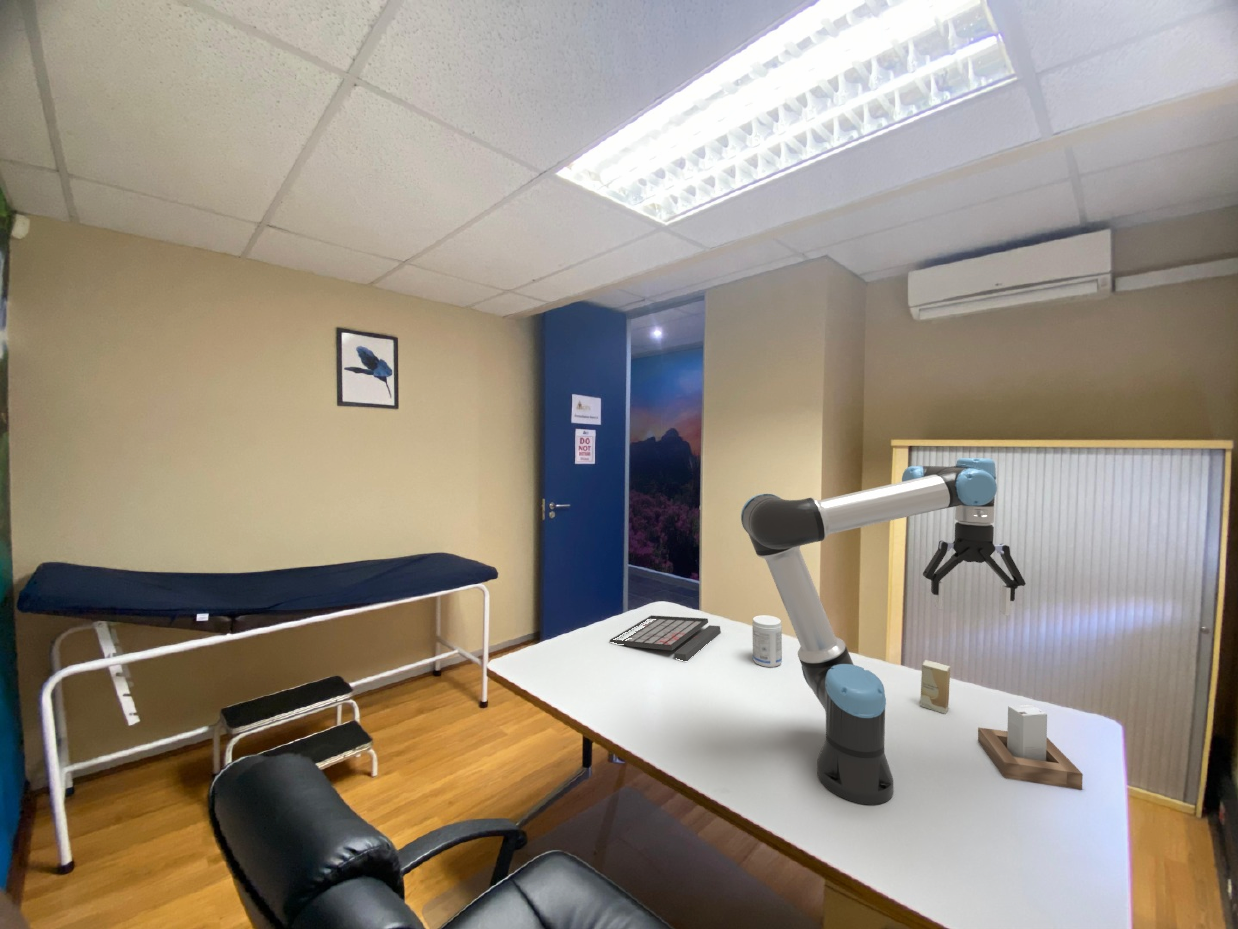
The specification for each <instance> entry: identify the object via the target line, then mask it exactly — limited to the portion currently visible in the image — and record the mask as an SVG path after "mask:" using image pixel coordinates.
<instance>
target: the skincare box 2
mask: <svg viewBox="0 0 1238 929" xmlns="http://www.w3.org/2000/svg"><path fill="white" fill-rule="evenodd" d="M1006 731H1007V749H1008V751H1009V752H1010V753H1011V754H1012V756H1013V757H1018V758H1025V759H1032V760H1039V761H1046V745H1047V738H1048V713H1047V712H1045V711H1043V710H1041V709H1040V708H1038V707H1036V706H1034V705H1032V704H1025V705H1024V704H1023V705H1022V704H1021V705H1008V707H1007V730H1006Z"/></svg>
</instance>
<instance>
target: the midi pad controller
mask: <svg viewBox="0 0 1238 929" xmlns="http://www.w3.org/2000/svg"><path fill="white" fill-rule="evenodd" d="M647 619H656V620H653V621H652V622H649V623H648V624H645V625H643V626H645V627H644V628H642V629H640V630H638V631H635V632H636V633H634V634H633V635H631V636H629V637H628V638H632V639H629V640H627V641H625V640H626V639H628V638H626V639H624V640H623V641H622V640H617V639H616V640H613V639H615V638H617V637H619V636H620V635H622V634H623V633H625V632H628V631H629V630H631V629H632V628H634V627H636V626H638V627H639V625H640V624H641V623H643V622H645V621H646V620H647ZM646 622H647V621H646ZM708 623H709V618H705V617H704V618H703V617H701V618H700V617H688V616H687V617H686V616H685V617H684V616H669V615H668V616H667V615H666V616H665V615H664V616H663V615H649V616H648V617H646V618H644V619H643V620H641V621H639V622H637V623H636V624H634V625H633V626H631V627H630V628H627V629H625V630H624V631H622V632H621V633H618V634H617V635H616V636H614V637H613V638H611V639H609V643H610V642H614V643H617V644H624V645H627V646H626V647H633V648H635V647H636V648H644V649H651V650H652V649H655V650H663V651H674V650H675V649H676V648H677V647H679V646H681V645H682V644H683V643H684V642H685V641H686V640H688V639H689V638H691V637H692V636H693V635H694V634H696V633H697V632H699V631H700V630H701V629H702V628H704V627H705V626H706V625H707V624H708ZM643 624H644V623H643ZM641 625H642V624H641ZM636 628H637V627H636ZM631 631H632V630H631ZM628 633H629V632H628ZM720 634H722V632H721V626H720V625H708V626H707V627H705V628H704V629H703V630H702V631H701V632H699V633H698V634H697V635H695V636H694V637H692V638H691V639H690V640H689V641H687V642H686V643H685V644H684V645H682V646H681V647H680V648H679V649H677V650H676V651H675V652H674V653H673V658H677V659H680V660H683V661H688V660H689V659H690V658H691V657H692V656H693V657H694V655H695V654H696V653H697V652H698V651H699V650H700V651H702V650H703V649H704V648H705V647H706V646H707V645H709V644H710V643H711V642H713V640H715V639H716V638H717V637H718V636H719V635H720ZM710 641H711V642H710ZM709 642H710V643H709ZM708 643H709V644H708ZM706 644H707V645H706ZM705 645H706V646H705ZM704 646H705V647H704ZM703 647H704V648H703ZM702 648H703V649H702ZM701 649H702V650H701ZM700 651H699V652H700ZM699 652H698V653H699ZM698 653H697V654H698ZM697 654H696V655H697ZM696 655H695V656H696ZM693 657H692V658H693ZM692 658H691V659H692ZM691 659H690V660H691ZM690 660H689V661H690ZM683 661H682V662H683ZM689 661H688V662H689Z"/></svg>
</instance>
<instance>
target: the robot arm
mask: <svg viewBox="0 0 1238 929" xmlns="http://www.w3.org/2000/svg"><path fill="white" fill-rule="evenodd" d="M996 473H997V471H996V463H995V460H993V459H992V458H986V457H985V458H983V457H982V458H981V457H980V458H978V457H977V458H976V457H974V458H972V457H971V458H970V457H969V458H968V457H965V458H964V457H963V458H962V457H960V458H958V459H957V461H956V463H955V465H953V466H942V465H940V466H939V465H938V466H937V465H935V466H934V465H914V466H913V465H911V466H908V467H907V468H905V469H904V471H903V472H902V476H901V481H899V482H896V483H895V482H894V483H891V484H886V485H885V484H884V485H881V486H877V487H873V488H869V489H868V488H867V489H864V490H860V491H855V492H851V493H846V494H842V495H838V496H832V497H828V498H823V499H820V500H818V499H815V498H814V497H806V498H802V499H792V500H791V499H783V498H781V497H779V496H778V495H777V494H773V493H761V494H760V493H759V494H756V495H754V496H751V497H750V498H749V499H748V500H747V501H746V502H745V503H744V505H743V506H742V509H741V513H740V519H741V520H740V521H741V522H740V523H741V525H742V527H743V529H744V531H745V532H746V533H747V534H748V536H749V539H750V541H751V542H750V543H752V546H753V548H754V551H755V554H756V555H757V557H759V558H762V559H764V560H765V561H766V564H767V567H768V569H769V572H770V574H771V576H772V579H773V581H774V584H775V587H776V589H777V591H778V594H779V596H780V598H781V601H782V603H783V606H784V609H785V611H786V614H787V616H788V618H789V621H790V623H791V626H792V628H793V630H794V633H795V636H796V639H797V640H798V642H799V645H800V647H799V649H798V650H797V658H798V659H799V662H800V665H801V672H802V675H803V678H804V680H805V682H806V684H807V686H809V688H810V689H811V690H812V693H814V695H815V696H816V698H817V700H818V702H819V703H820V704H821V706H822V707H823V709H824V712H825V740H824V742H823V744H822V748H821V750H820V752H819V755H818V758H817V762H816V775H817V777H818V779H819V781H820V783H821V784H822V785H823V786H824V787H826V789H827V790H828V791H830V792H831V793H833V794H834V795H837V796H838V797H841V798H842V799H845V800H847V801H849V802H853V803H857V804H861V805H880V804H884V803H887V802H888V801H889V800H890V799H891V798H892V797H893V795H894V778H893V774H892V771H891V769H890V765H889V761H888V760H887V756H886V754H885V734H886V732H885V730H886V705H887V698H886V692H885V687H884V684H883V682H882V680H881V679H880V678H879V677H878V676H877V674H875V673H873V672H872V671H871V670H868V669H865V668H864V667H862V666H858V665H855V664H854V662H853V660H852V657H851V655H850V652H849V650H848V647H847V645H846V643H845V641H844V640H842V639H841V638H840V637H836V635H835V633H834V630H833V628H832V626H831V623H830V621H829V618H828V615H827V613H826V611H825V608H824V606H823V603H822V601H821V599H820V596H819V593H818V591H817V589H816V586H815V583H814V581H813V579H812V577H811V574H810V571H809V569H808V567H807V563H806V561H805V558H804V555H803V554H802V552H801V549H800V548H801V546H804V545H805V546H806V545H808V544H809V545H810V544H813V543H817V542H818V543H819V542H822V541H825V540H826V539H827V537H828V535H831V534H837V533H840V532H845V531H849V530H854V529H858V528H863V527H868V526H871V525H877V524H881V523H886V522H891V521H895V520H900V519H904V518H908V517H912V516H917V515H921V514H926V513H930V512H935V511H940V510H943V509H950V508H954V507H955V509H954V510H955V512H954V513H955V514H954V520H955V521H956V522H955V523H954V540H953V542H947V541H945V540H940V541H938V546H937V550H936V551H935V553H934V554H933V556H932V558H931V560H930V561H929V562H928V564H927V566H926V568H925V569H924V571H923V572H922V576H923V577H925V579H926V580H930V581H931V582H930V583H931V584H930V587H931V588H930V591H931V593H932V595H934V596H935V597H934V598H935V602H934V605H935V606H934V607H936V608H937V610H939V611H943V605H944V604H943V603H944V602H943V601H944V596H943V595H944V583H943V582H942V580H943V579H944V577H946V576H947V575H948V574H949V573H950V572H951V571H952V570H954V569H955V568H956V567H957V566H958V565H959V564H961V563H962V562H963V561H964V562H966V563H974V562H975V563H978V564H979V563H980V564H983V563H986V564H987V565H988V566H989V567H990V569H991V570H992V571H993V572H994V573H995V574H996V575H997V576H998V577H999V579H1001V580H1002V581H1003V583H1004V584H1001V588H1000V589H1001V590H1000V591H1001V592H1000V593H1001V594H1000V613H1001V614H1003V615H1004V616H1006V617H1007V616H1008V617H1010V616H1011V613H1010V612H1011V602H1014V601H1015V598H1016V590H1017V589H1018V587H1024V586H1026V581H1025V579H1024V577H1023V576H1022V574H1021V572H1020V570H1019V569H1018V567H1017V565H1016V563H1015V561H1014V559H1013V557H1012V555H1011V548H1010V546H1009V545H1007V544H1004V543H999V544H994V537H995V536H994V532H995V531H994V530H995V526H993V525H992V524H993V523H994V522H995V502H996V501H995V497H996V495H997V491H998V486H997V482H996V481H997V475H996ZM951 549H953V551H954V553H953V554H952V555H951V556H950V558H949V559H948V560H947V561H946V562H945V563H943V565H941V563H942V561H943V559H944V558H945V557H946V554H947V552H949V551H950V550H951ZM995 551H996V553H997V554H999V555H1000V557H1001V560H1002V561H1003V563H1004V565H1005V566H1006V568H1007V570H1008V572H1009V574H1010V576H1011V577H1012V578H1010V576H1009V575H1008V574H1007V573H1006V572H1005V571H1004V570H1003V568H1002V567H1001V566H1000V565H999V564H998V563H997V562H996V560H994V558H993V557H992V556H991V555H993V554H994V553H995ZM940 565H941V566H940ZM939 566H940V567H939ZM938 567H939V568H938Z"/></svg>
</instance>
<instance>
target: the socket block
mask: <svg viewBox="0 0 1238 929" xmlns="http://www.w3.org/2000/svg"><path fill="white" fill-rule="evenodd" d="M1007 731H1008V730H999V729H993V728H985V727H977V741H978V744H979V745H980V746H981V748H982V749H983V750H984V752H985V753H986V755H987V756H988V757H989V759H990V760H991V761H992V762H993V764H994V766H995V767H996V768H997V769H998V771H999V772H1000V774H1001V775H1002V776H1003V777H1004V779H1010V780H1017V781H1023V782H1030V783H1036V784H1043V785H1049V786H1054V787H1055V786H1056V787H1062V788H1067V789H1068V788H1069V789H1075V790H1081V791H1082V790H1083V776H1084V774H1083V772H1082V771H1081V770H1080V769H1079V768H1078V767H1077V766H1076V765H1075V764H1074V763H1073V762H1072V761H1071V760H1070V759H1069V758H1068V757H1067V756H1066V755H1065V754H1064V753H1063V752H1062V751H1061V750H1060V749H1059V748H1058V747H1057V746H1056V745H1055V744H1054V743H1053V742H1052V741H1051V740H1050V739H1049V737H1047V745H1046V761H1039V760H1032V759H1025V758H1018V757H1013V756H1012V754H1011V753H1010V752H1009V751H1008V749H1007Z"/></svg>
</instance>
